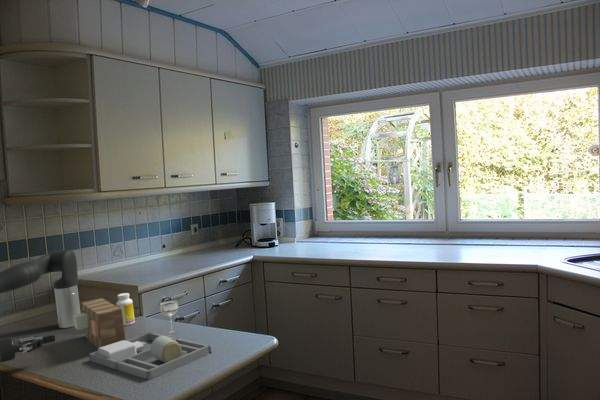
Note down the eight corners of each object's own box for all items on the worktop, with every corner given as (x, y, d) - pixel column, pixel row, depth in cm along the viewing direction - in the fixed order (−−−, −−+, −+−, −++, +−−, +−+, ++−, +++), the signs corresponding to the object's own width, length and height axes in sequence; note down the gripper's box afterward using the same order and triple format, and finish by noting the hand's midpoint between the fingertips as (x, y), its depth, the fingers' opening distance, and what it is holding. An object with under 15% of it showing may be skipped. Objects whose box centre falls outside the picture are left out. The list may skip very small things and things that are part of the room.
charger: (152, 351, 176) (111, 366, 166) (139, 347, 183) (99, 360, 172) (151, 338, 176) (109, 352, 165) (138, 334, 182) (97, 347, 172)
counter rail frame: (89, 360, 172) (89, 353, 172) (150, 338, 190) (149, 332, 190) (148, 379, 150) (147, 371, 150) (211, 352, 168) (210, 345, 168)
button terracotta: (92, 333, 185) (90, 320, 185) (106, 330, 188) (104, 317, 188) (95, 336, 181) (94, 323, 181) (110, 333, 184) (108, 319, 184)
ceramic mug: (163, 367, 159) (161, 343, 159) (151, 362, 165) (149, 338, 165) (192, 357, 166) (190, 334, 166) (179, 352, 172) (177, 330, 172)
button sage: (74, 327, 197) (73, 315, 196) (88, 324, 199) (86, 311, 199) (77, 330, 192) (75, 317, 192) (91, 326, 195) (89, 314, 195)
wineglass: (162, 333, 197) (158, 302, 196) (179, 329, 199) (176, 299, 199) (164, 337, 191) (161, 306, 190) (182, 333, 193) (179, 302, 193)
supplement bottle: (137, 321, 218) (134, 291, 218) (131, 325, 212) (127, 295, 211) (123, 322, 219) (119, 292, 219) (116, 326, 213) (112, 296, 212)
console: (85, 336, 202) (81, 302, 201) (105, 331, 207) (101, 298, 206) (103, 353, 179) (98, 314, 178) (126, 346, 184) (121, 309, 183)
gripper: (-3, 344, 160) (56, 330, 170) (-6, 336, 171) (50, 323, 181) (0, 368, 161) (59, 352, 171) (-4, 358, 172) (52, 343, 182)
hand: (54, 337), depth 176 cm, fingers closed
